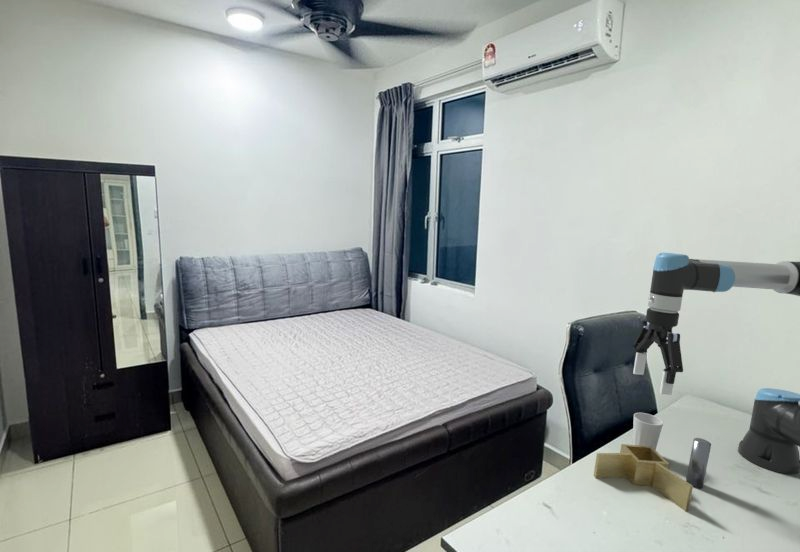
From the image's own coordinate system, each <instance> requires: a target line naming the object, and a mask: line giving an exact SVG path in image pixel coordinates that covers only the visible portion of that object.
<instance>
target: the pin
mask: <svg viewBox="0 0 800 552" xmlns="http://www.w3.org/2000/svg"><path fill="white" fill-rule="evenodd" d="M711 446H712V443H711V442H710V441H708V440H706V439H705V438H701V437H694V438H693V441H692V446H691V453H690V455H689V456H690V457H689V461H688V467H687V474H686V478H685V481H686V482H688V483H689V484H691V485H692V486H693V488H695V489H698V490H701V489H703V488H704V483H705V478H706V474H707V469H708V468H707V467H708V465H709V464H708V463H709V458H710V453H711V448H712V447H711Z"/></svg>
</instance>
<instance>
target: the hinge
mask: <svg viewBox="0 0 800 552" xmlns="http://www.w3.org/2000/svg"><path fill="white" fill-rule="evenodd" d="M669 468H670V463H669V462H668V461H667V460H666V459H665V458H664V457H663V456H662V455H661V454H660V453H659V452H658V451H657V450H655V449H654V448H653V447H651V446H640V445H632V444H624V443H623V444H621V445H620V451H619V452H601V453H600V452H599V453H596V456H595V464H594V471H593V477H594V478H595V479H607V478H606V477H615V478H627V479H628V480H629V481H630V482H631V483H632V484H633V485H634V486H648V487H651V488H653V489H654V490H656V491H657V492H658V493H660V494H662V496H664V497H665V498H667V499H669V500H670V501H671V502H672V503H673V504H675V505H676V506H677V507H679V508H680V509H682V510H683V511H684V512H687V511H689V509H690V503H691V500H692V494H693V488H694V487H693V486H692V485H691V484H689V483H688V482H686V479H683V478H682V477H680V476H679V475H677V474H676V473H675V472H673V471H671V470H670V469H669ZM603 477H604V478H603Z"/></svg>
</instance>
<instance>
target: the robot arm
mask: <svg viewBox="0 0 800 552" xmlns="http://www.w3.org/2000/svg"><path fill="white" fill-rule="evenodd" d="M650 283H651V284H650V289H649V290H650V291H649V296H648V298H647V299H648V303H647V304H648V305H647V307H649V308H647V309H646V312H645V313H646V314H645V320H642V321H641V322H642V323H641V326H640V329H639V331H638V333H637V335H636V336H635V339H634V341H633V343H632V344H631V345H632V348H633V349H634V351H635V352H636V353H635V358H634V364H633V365H634V366H633V372H632V374H633V375H639V376H640V375H641V376H644V375H645V368H646V364H647V363H646V362H647V356H648V354H647V352H648V350H649V348H650V347H651V346H652V345H653V344H654V343H655V344H656V345H657V346H658V348H660V349H659V350H660V352H661V356H662V360H663V363H664V367H665V368H664V369H662V374H661V375H662V377H661V381H660V382H661V383H660V386H659V387H660V389H659V394H660V395H669V396H671V395H672V394H673V389H674V388H673V387H674V383H675V381H676V374H677V373H683V372H684V366H683V360H682V359H683V358H682V350H681V343H680V342H681V334H680V333H675V332H673V329H674V328H675V327H677V326H678V324H679V319H680V313H679V312H680V311H681V308H682V302H683V294H684V291H688V290H689V291H701V292H713V293H722V292H723V293H725V292H728V291H730V290H731V288H745V289H747V288H748V289H759V290H760V289H764V290H772V291H774V292H776V293H778V294H788V295H792V296H793V295H794V296H797V297H800V261H789V260H788V261H786V260H785V261H779V262H777V263H763V262H749V261H748V262H747V261H732V260H731V261H729V260H714V259H702V258H701V259H699V258H690V257H689V255H687V254H684V253H673V252H659V253H658V254H656V257H655V260H654V263H653V267H652V276H651V282H650ZM799 448H800V393H797V392H793V391H790V390H784V389H777V388H770V387H769V388H768V387H765V388H764V387H763V388H760V389H759V390H757V392H756V396H755V398H754V402H753V408H752V412H751V420H750V425H749V429H748V430H747V432H746V433H745V435H744V437H743V439H742V440H740V441H739V443H738V446H737V451H738V452H737V453H739V455H741V456H742V457H743V458H744V459H746V460H747V461H749V462H750V463H753V464H755V465H757V466H758V467H760V468H764V469H767V470H770V471H773V472H777V473H779V474H780V473H781V474H789V475H794V474H795V475H796V474H799V473H800V451H799Z"/></svg>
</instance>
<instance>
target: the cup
mask: <svg viewBox="0 0 800 552" xmlns="http://www.w3.org/2000/svg"><path fill="white" fill-rule="evenodd" d="M632 424H633V426H632V427H633V429H632V441H631V443H632V444H631V445H640V446H651V447H653V448H654V449H655V450H656V449H657V446H658V444H659V439H660V435H661V433H662V428H663V426H664V421H663V420H662V419H660V418H659V417H658V416H656V415H653V414H650V413H645V412H635V413H634V414H633V423H632ZM656 451H657V450H656Z"/></svg>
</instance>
